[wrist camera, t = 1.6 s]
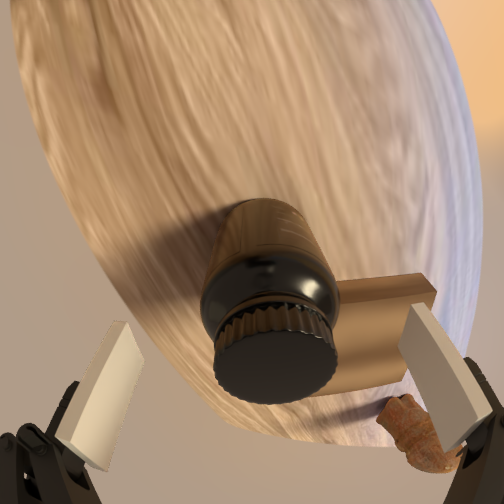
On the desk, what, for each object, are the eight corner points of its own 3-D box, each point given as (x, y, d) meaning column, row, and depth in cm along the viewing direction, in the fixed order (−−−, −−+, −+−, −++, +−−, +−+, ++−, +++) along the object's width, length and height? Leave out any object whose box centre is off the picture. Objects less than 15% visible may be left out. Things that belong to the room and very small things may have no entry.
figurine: (371, 414, 33) (392, 500, 19) (391, 382, 29) (425, 482, 16) (416, 404, 33) (443, 480, 19) (440, 372, 29) (478, 457, 16)
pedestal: (292, 284, 22) (297, 308, 19) (421, 272, 21) (437, 291, 19) (290, 376, 27) (293, 398, 25) (392, 361, 27) (401, 381, 24)
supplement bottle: (267, 294, 22) (274, 429, 12) (199, 245, 21) (151, 374, 10) (329, 236, 20) (393, 359, 9) (260, 174, 18) (269, 263, 7)
